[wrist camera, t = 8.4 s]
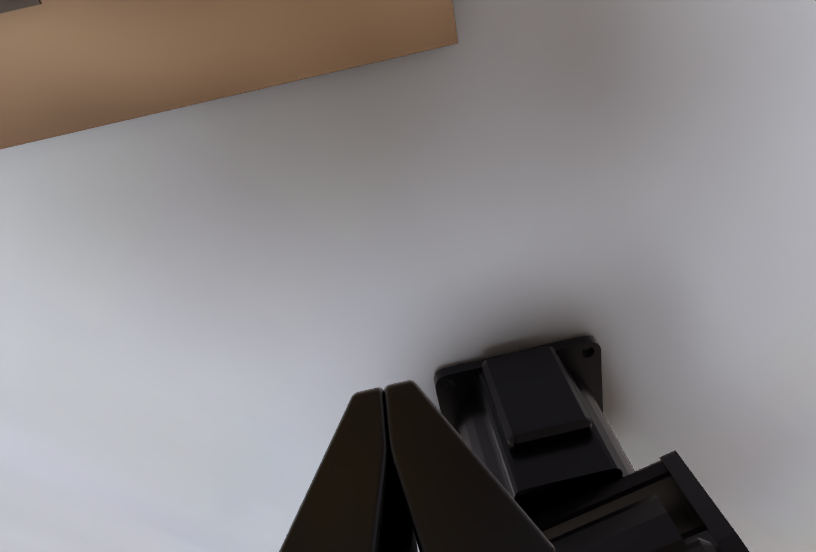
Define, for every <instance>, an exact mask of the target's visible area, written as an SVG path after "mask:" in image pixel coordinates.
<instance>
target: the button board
mask: <svg viewBox="0 0 816 552" xmlns="http://www.w3.org/2000/svg"><path fill="white" fill-rule="evenodd" d="M457 43H458V39H457V32H456V25H455V18H454V11H453V4H452V0H0V149H3V148H8V147H12V146H16V145H21V144H25V143H29V142H34V141H38V140H42V139H47V138H51V137H55V136H60V135H64V134H68V133H73V132H77V131H81V130H86V129H90V128H94V127H98V126H103V125H107V124H111V123H116V122H120V121H124V120H129V119H133V118H137V117H142V116H146V115H150V114H155V113H159V112H163V111H168V110H172V109H176V108H181V107H185V106H189V105H193V104H198V103H202V102H206V101H211V100H215V99H219V98H224V97H228V96H232V95H237V94H241V93H245V92H250V91H254V90H258V89H263V88H267V87H271V86H276V85H280V84H284V83H288V82H293V81H297V80H301V79H306V78H310V77H314V76H319V75H323V74H327V73H332V72H336V71H340V70H345V69H349V68H353V67H358V66H362V65H366V64H371V63H375V62H379V61H384V60H388V59H392V58H396V57H401V56H405V55H409V54H414V53H418V52H422V51H427V50H431V49H435V48H440V47H444V46H448V45H453V44H457Z"/></svg>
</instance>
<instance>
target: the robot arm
mask: <svg viewBox="0 0 816 552" xmlns="http://www.w3.org/2000/svg"><path fill="white" fill-rule="evenodd" d="M587 347H590V348H589V349H588V350H586V351H583V350H584V349H585V348H587ZM446 380H452V381H451V382H449V383H443V382H444V381H446ZM434 384H435V388H436V393H437V397H438V401H439V406H440V410H441V412H440V411H439V410H438V409H437V408H436V406H435V405H434V404H433V403H432V402H431V400H430V399H429V398H428V397H427V396H426V395H425V393H424V392H423V391H422V390H421V389H420V387H419V386H418V385H417V384H416V383H415V382H414V381H411V380H408V381H404V382H399V383H395V384H391V385H388V386H386V387H385V390H383V389H382V388H374V389H369V390H365V391H361V392H357V393H355V394H354V395H353V396H352V398H351V400H350V402H349V404H348V406H347V408H346V410H345V412H344V415H343V417H342V419H341V421H340V423H339V425H338V427H337V429H336V432H335V434H334V436H333V438H332V440H331V442H330V444H329V447H328V449H327V451H326V453H325V455H324V457H323V459H322V462H321V464H320V466H319V468H318V470H317V472H316V474H315V476H314V479H313V481H312V483H311V485H310V487H309V489H308V491H307V494H306V496H305V498H304V500H303V502H302V504H301V506H300V508H299V511H298V513H297V515H296V517H295V519H294V521H293V523H292V526H291V528H290V530H289V532H288V534H287V536H286V538H285V540H284V543H283V545H282V547H281V549H280V551H279V552H418V549H417V544H418V547H419V551H420V552H749V551H748V549H747V548H746V546H745V545H744V543H743V542H742V540H741V539H740V538H739V536H738V535H737V533H736V532H735V531H734V529H733V528H732V527H731V525H730V524H729V522H728V521H727V520H726V518H725V517H724V516H723V514H722V513H721V512H720V510H719V509H718V508H717V506H716V505H715V503H714V502H713V501H712V499H711V498H710V497H709V495H708V494H707V493H706V491H705V490H704V489H703V487H702V486H701V484H700V483H699V482H698V480H697V479H696V478H695V476H694V475H693V474H692V472H691V471H690V470H689V468H688V467H687V465H686V464H685V463H684V461H683V460H682V459H681V457H680V456H679V455H678V453H677V452H676V451H673V452H671V453H669V454H666V455H664V456H662V457H660V461H658V462H656V463H653V464H651V465H649V466H647V467H644V468H642V469H640V470H638V471H634V469H633V467H632V465H631V464H630V462H629V460H628V458H627V456H626V455H625V453H624V451H623V449H622V447H621V446H620V444H619V442H618V440H617V438H616V436H615V435H614V433H613V431H612V429H611V427H610V426H609V424H608V422H607V420H606V418H605V417H604V415H603V401H602V371H601V349H600V346H599V344H598V342H597V341H596V339H595V338H593V337H591V336H582V337H578V338H573V339H569V340H565V341H560V342H556V343H552V344H548V345H543V346H539V347H535V348H530V349H526V350H522V351H518V352H513V353H509V354H505V355H500V356H496V357H492V358H488V359H483V360H479V361H475V362H470V363H466V364H462V365H458V366H453V367H449V368H445V369H442V370H440V371H438V372H437V373H436V374H435V376H434ZM416 541H417V542H416Z"/></svg>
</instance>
